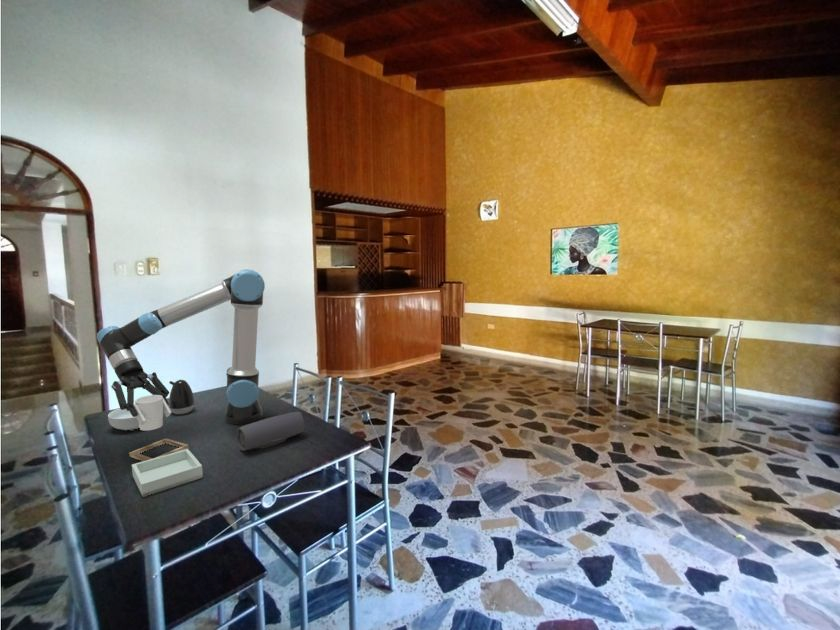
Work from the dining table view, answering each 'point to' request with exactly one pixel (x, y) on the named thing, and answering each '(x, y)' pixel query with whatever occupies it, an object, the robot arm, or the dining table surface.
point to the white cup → (151, 411)
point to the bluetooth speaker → (270, 431)
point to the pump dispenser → (181, 397)
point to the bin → (166, 472)
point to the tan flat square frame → (137, 452)
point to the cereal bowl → (123, 420)
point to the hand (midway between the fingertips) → (156, 418)
